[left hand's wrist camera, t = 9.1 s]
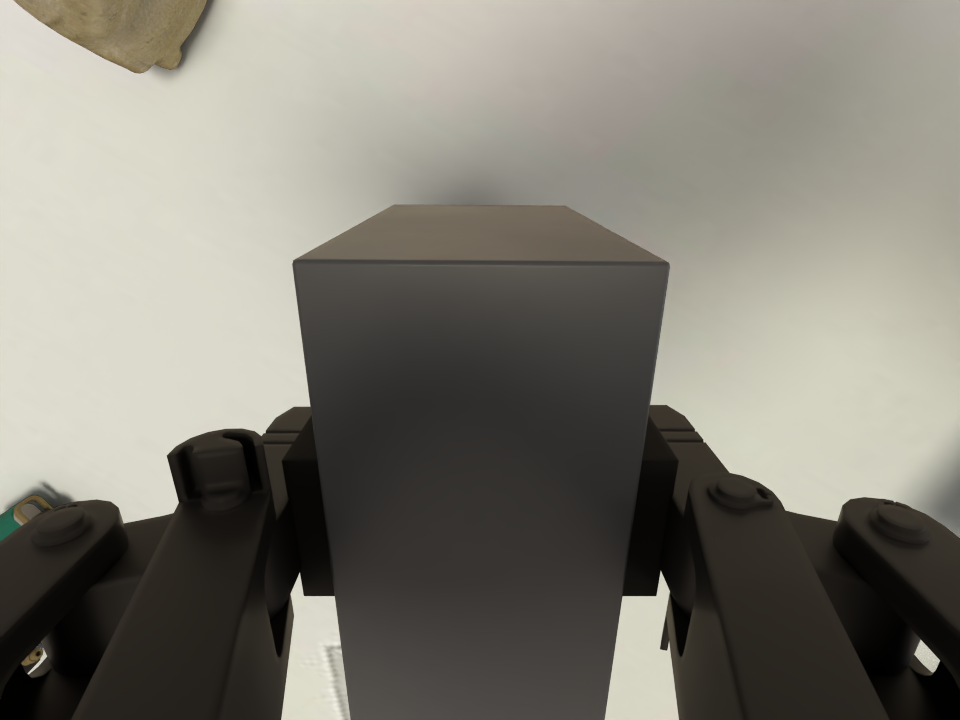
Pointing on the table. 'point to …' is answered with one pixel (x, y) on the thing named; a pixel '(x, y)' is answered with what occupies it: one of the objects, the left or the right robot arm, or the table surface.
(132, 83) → the table surface
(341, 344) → the beam
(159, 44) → the sculpture
